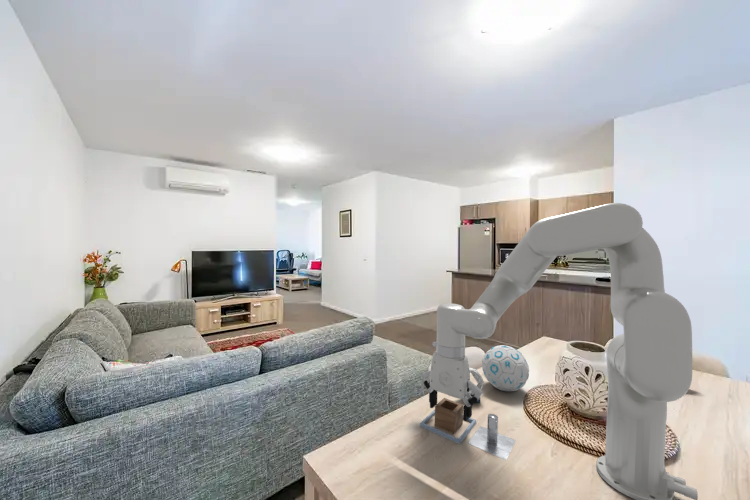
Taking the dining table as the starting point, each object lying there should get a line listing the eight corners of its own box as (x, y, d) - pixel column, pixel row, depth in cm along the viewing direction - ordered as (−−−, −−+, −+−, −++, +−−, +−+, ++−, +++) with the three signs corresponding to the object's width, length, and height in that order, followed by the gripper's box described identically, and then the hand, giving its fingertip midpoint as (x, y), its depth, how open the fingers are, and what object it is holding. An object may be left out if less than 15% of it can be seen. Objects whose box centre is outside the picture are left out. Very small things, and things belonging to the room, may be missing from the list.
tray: (475, 427, 82) (476, 420, 82) (459, 448, 73) (459, 440, 73) (438, 412, 89) (439, 405, 89) (420, 430, 80) (420, 422, 80)
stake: (515, 444, 75) (516, 415, 75) (506, 465, 68) (507, 432, 68) (480, 430, 81) (481, 402, 80) (467, 447, 74) (468, 417, 73)
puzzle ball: (475, 378, 112) (476, 339, 111) (514, 378, 112) (515, 339, 112) (492, 400, 96) (493, 354, 96) (537, 400, 97) (539, 354, 97)
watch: (485, 406, 93) (487, 371, 92) (461, 408, 91) (462, 373, 91) (477, 397, 98) (478, 364, 98) (454, 398, 97) (455, 365, 97)
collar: (454, 436, 77) (454, 413, 77) (434, 427, 81) (435, 406, 80) (462, 426, 82) (463, 404, 81) (443, 418, 85) (444, 397, 85)
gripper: (415, 346, 83) (415, 406, 83) (477, 362, 72) (476, 431, 73) (428, 339, 89) (427, 396, 89) (487, 353, 78) (486, 417, 78)
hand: (449, 412), depth 81 cm, fingers open, 9 cm apart
